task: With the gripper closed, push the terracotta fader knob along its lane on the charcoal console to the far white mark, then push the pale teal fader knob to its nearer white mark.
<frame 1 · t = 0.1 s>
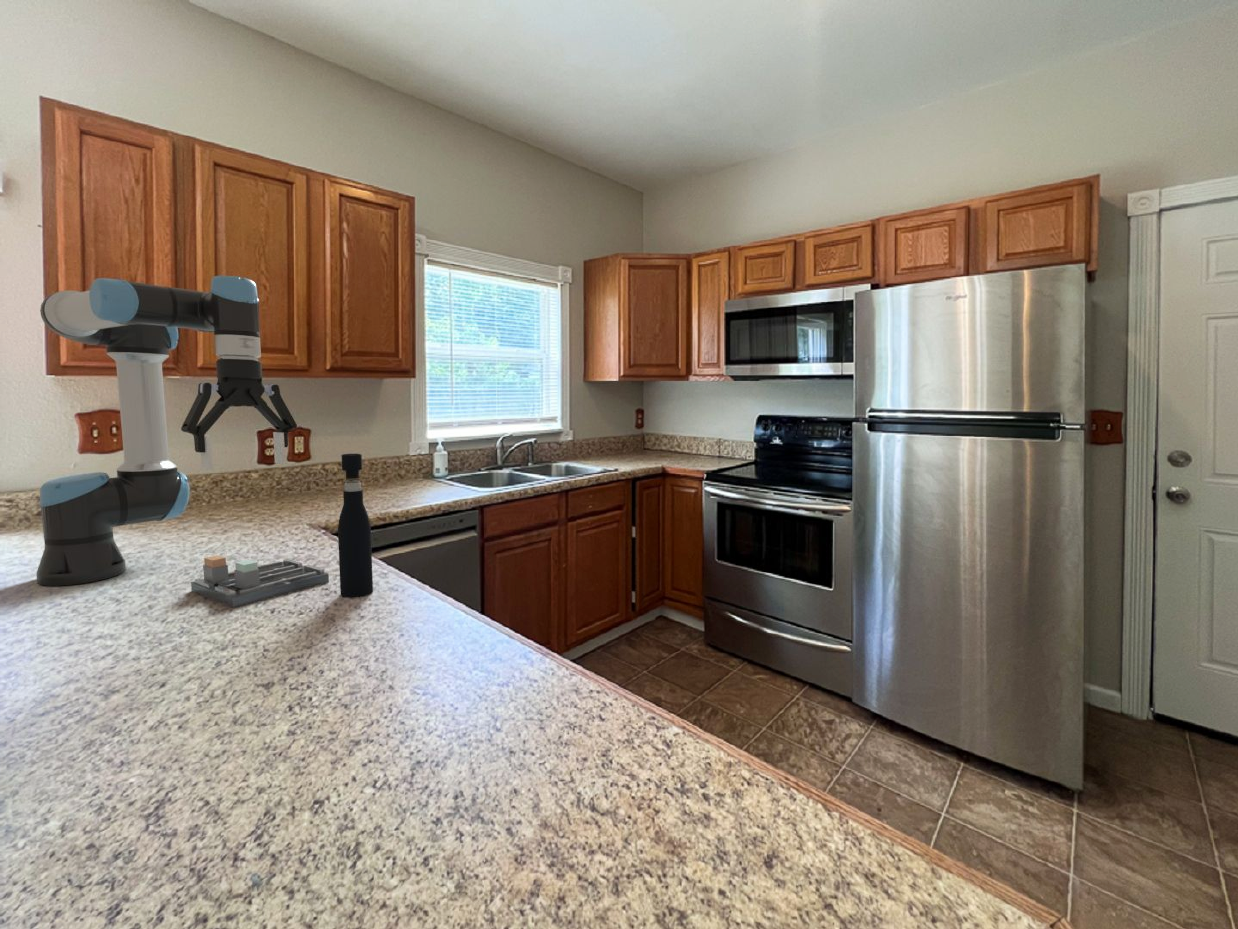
hand: (245, 466, 117), 28 cm above the countertop, fingers open, 13 cm apart
knob b: (247, 574, 122), point 5 cm above the countertop, slide at 2.0 cm
knob a: (215, 569, 125), point 5 cm above the countertop, slide at 0.0 cm
black water bottle: (356, 594, 125), on the countertop
console: (262, 586, 129), on the countertop
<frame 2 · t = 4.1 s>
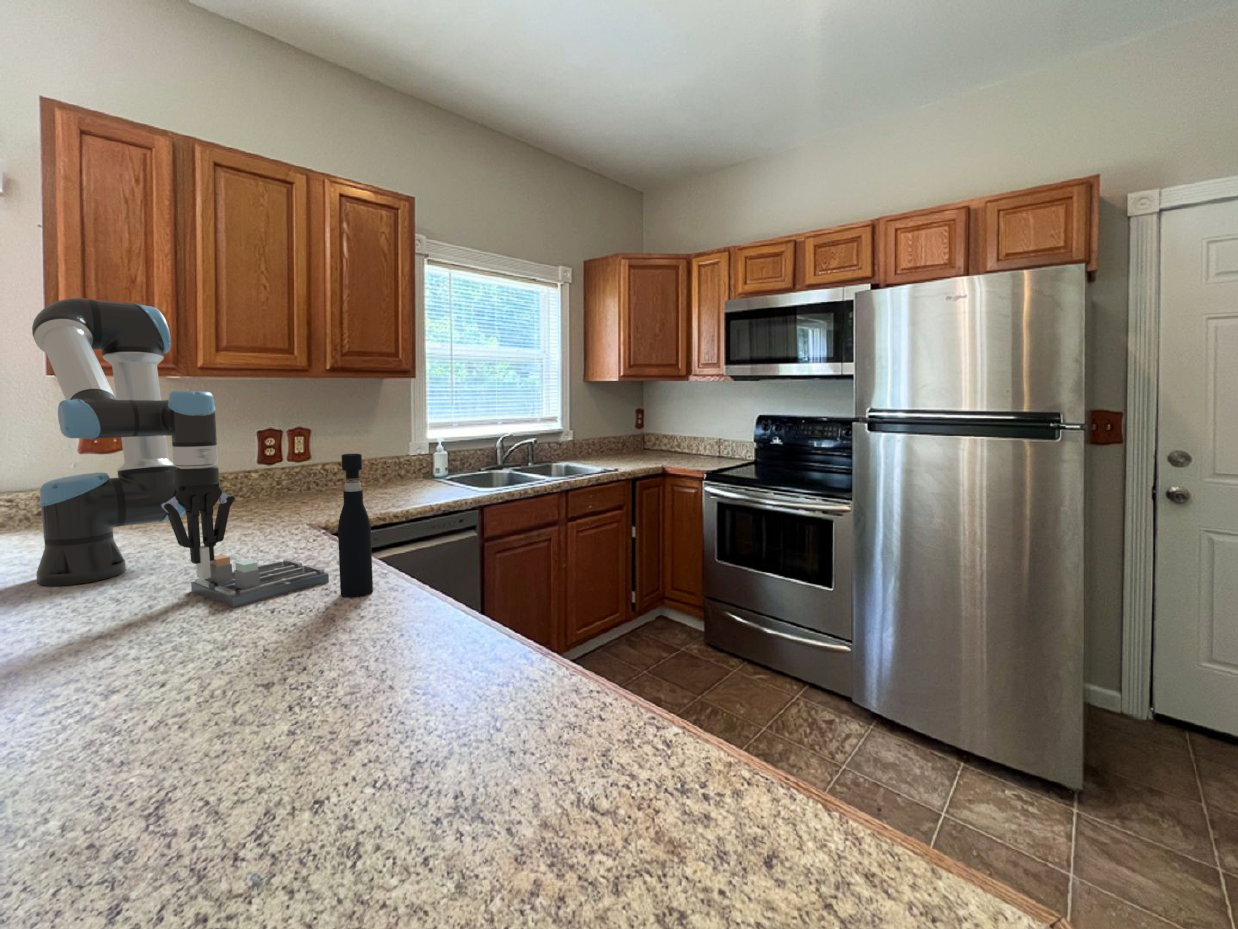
hand: (204, 577, 123), 4 cm above the countertop, fingers closed
knob a: (219, 568, 125), point 5 cm above the countertop, slide at 0.8 cm, touching gripper
everything else where it was.
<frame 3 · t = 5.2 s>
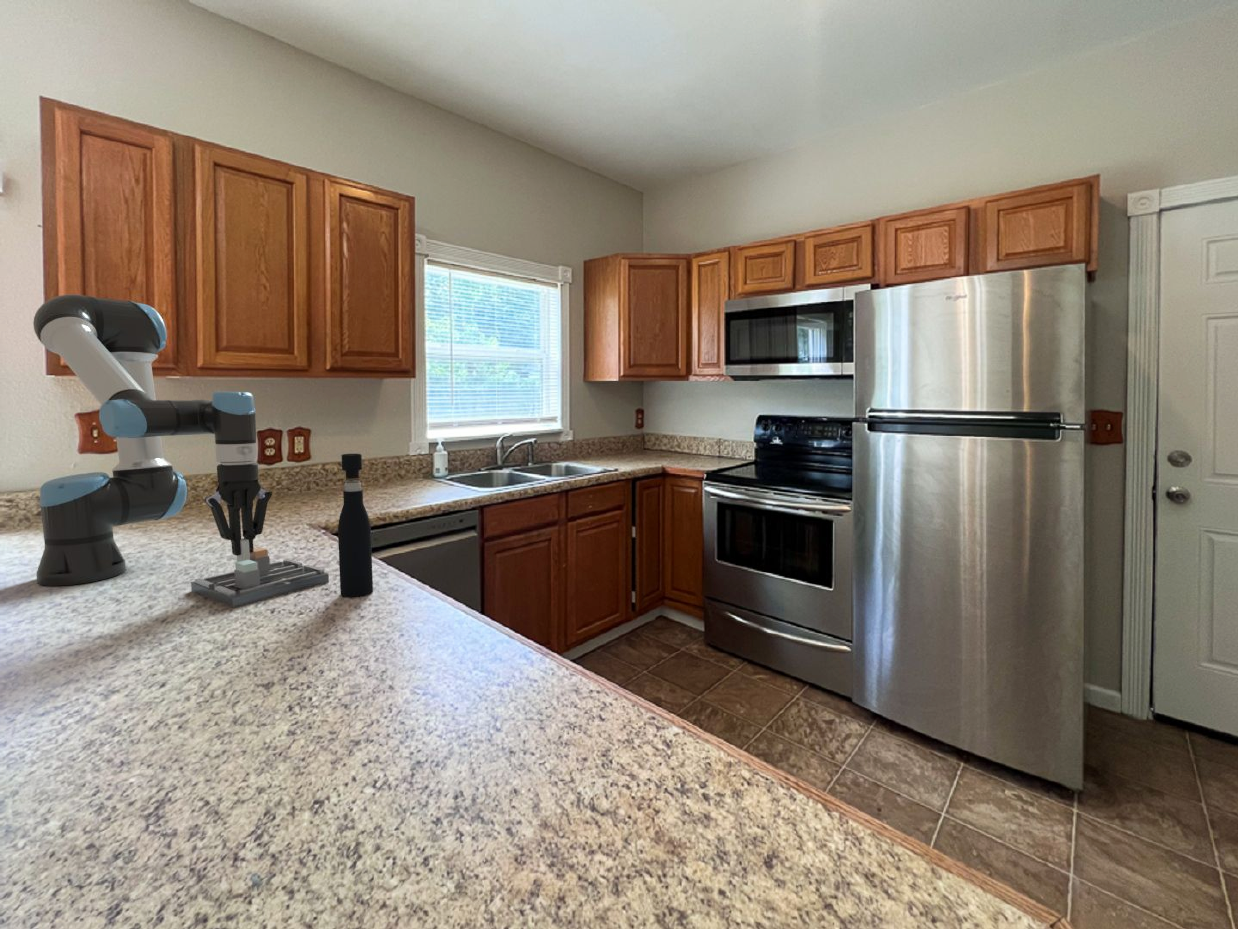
hand: (243, 568, 129), 4 cm above the countertop, fingers closed
knob a: (258, 560, 132), point 5 cm above the countertop, slide at 8.6 cm, touching gripper
everything else where it was.
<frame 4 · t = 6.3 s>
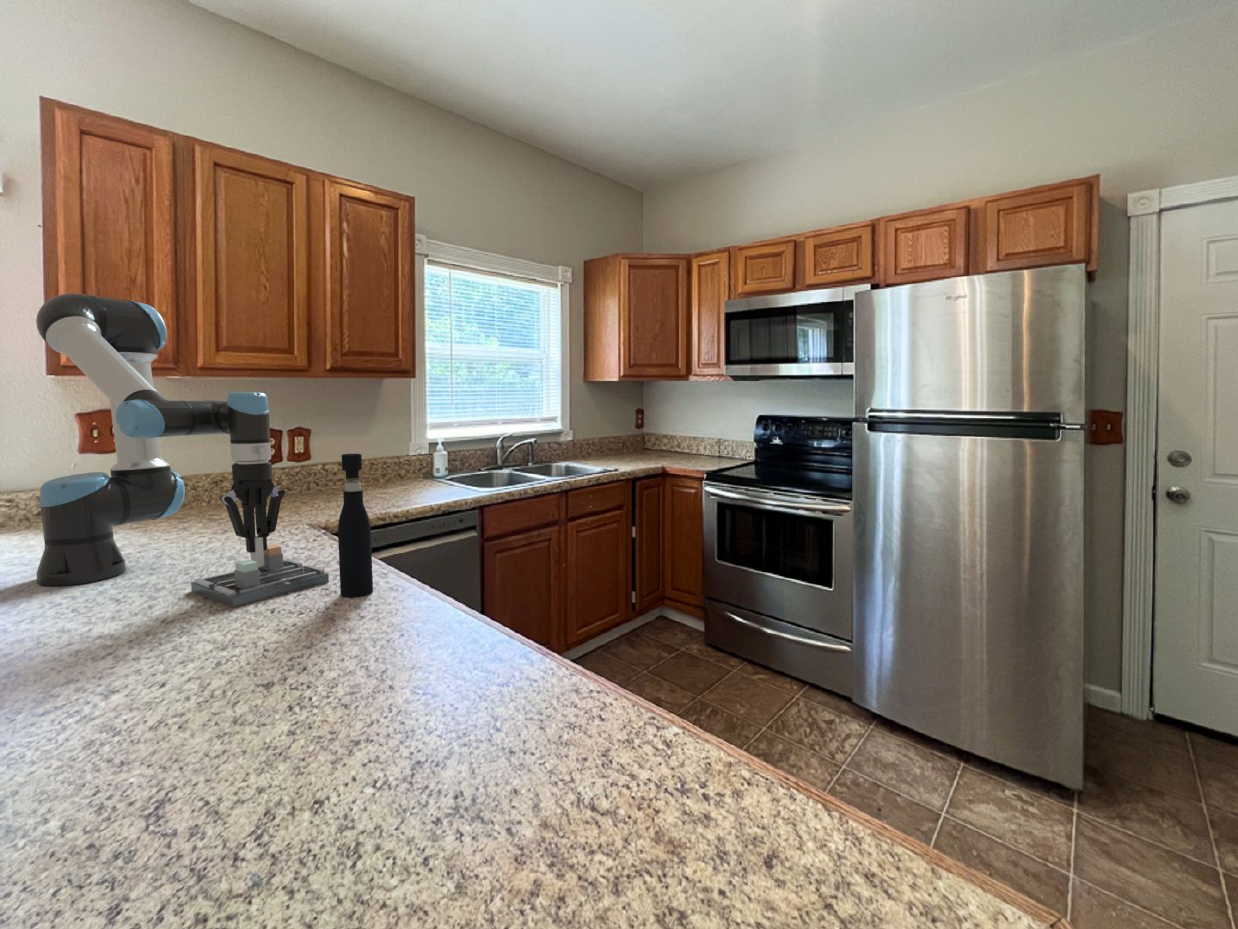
hand: (257, 565, 132), 4 cm above the countertop, fingers closed
knob a: (271, 557, 135), point 5 cm above the countertop, slide at 11.6 cm, touching gripper
everything else where it was.
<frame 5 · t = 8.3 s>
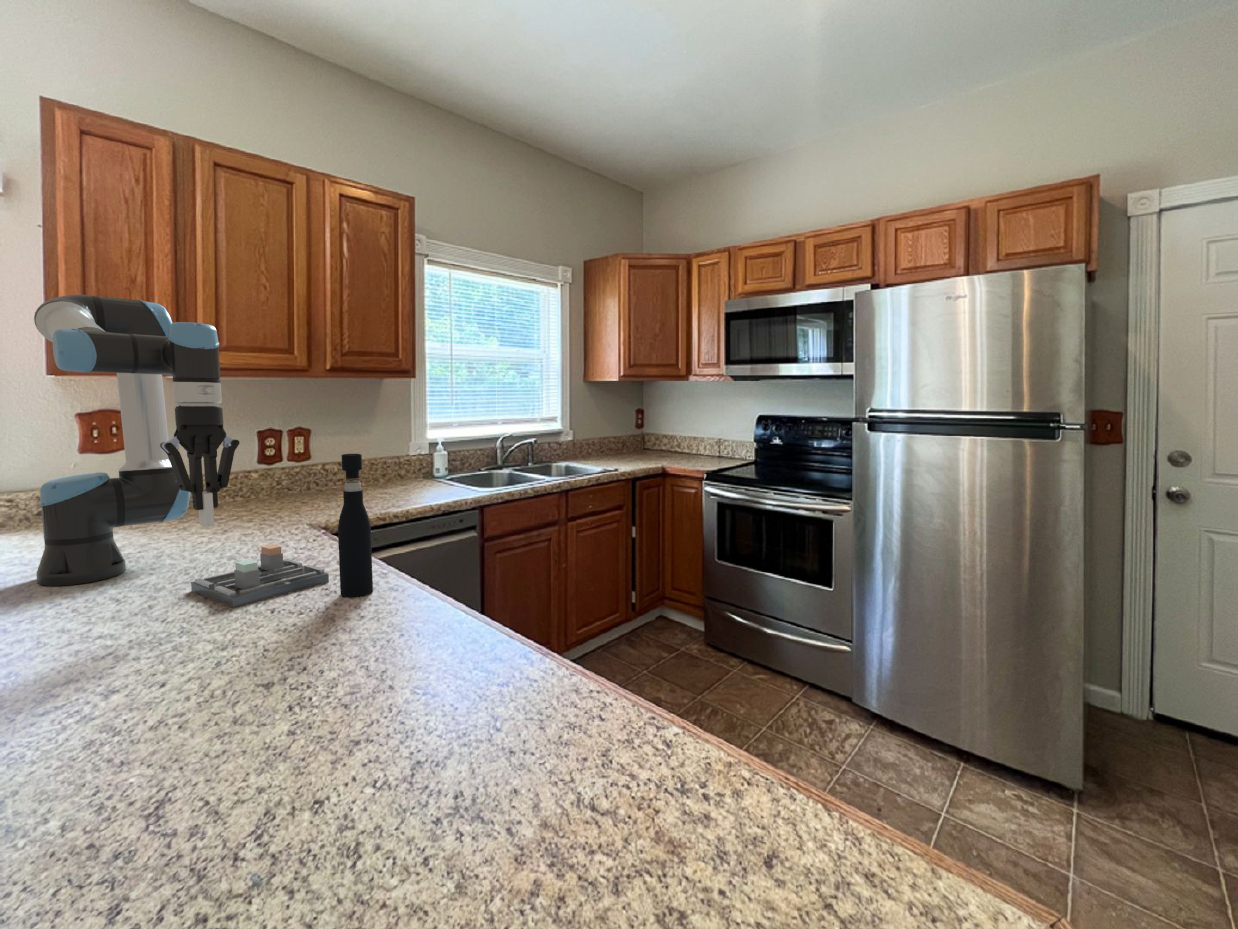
hand: (207, 525, 115), 16 cm above the countertop, fingers closed
knob a: (271, 557, 135), point 5 cm above the countertop, slide at 11.6 cm
everything else where it was.
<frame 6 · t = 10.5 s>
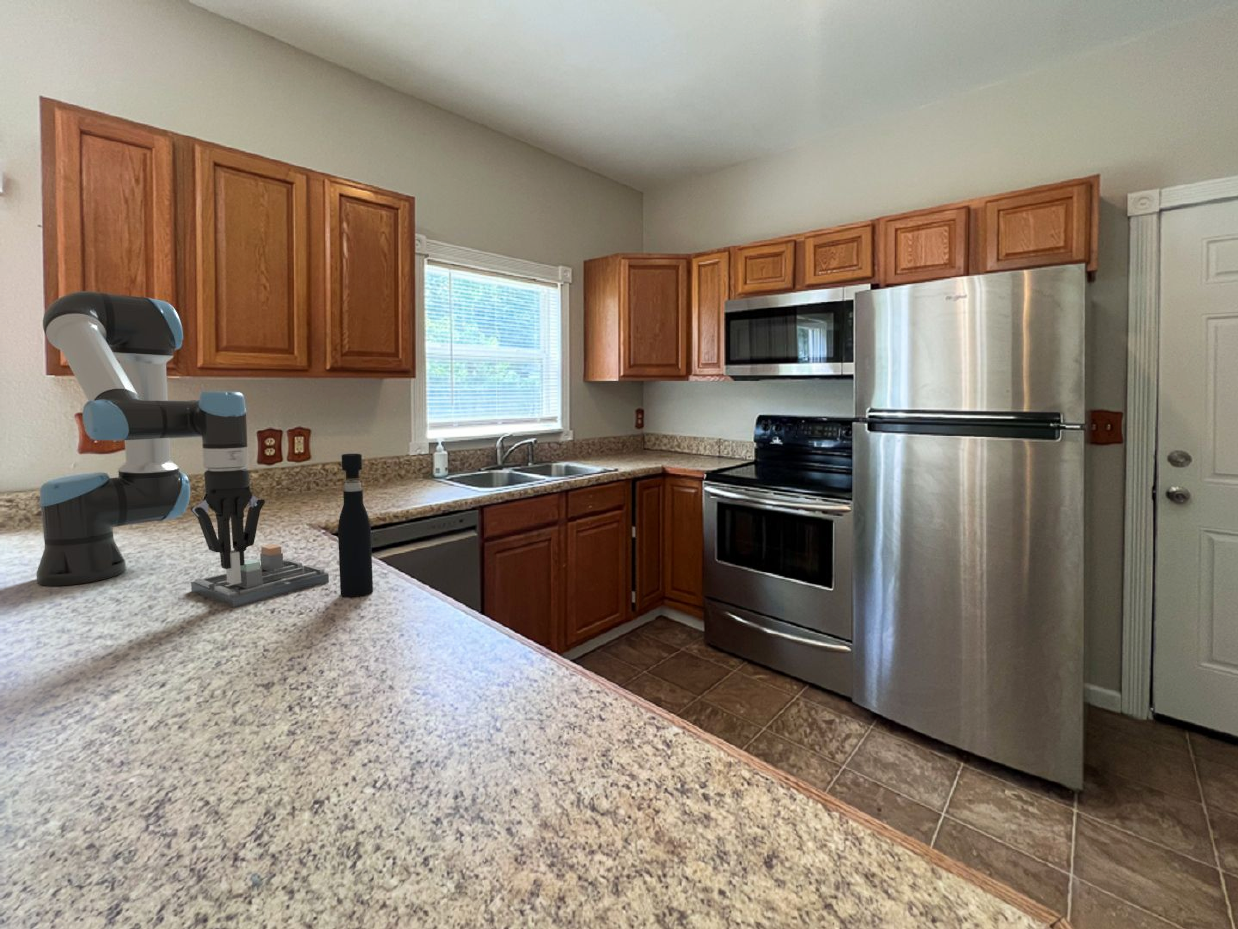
hand: (234, 582, 120), 4 cm above the countertop, fingers closed
knob b: (249, 573, 122), point 5 cm above the countertop, slide at 2.5 cm, touching gripper
everything else where it was.
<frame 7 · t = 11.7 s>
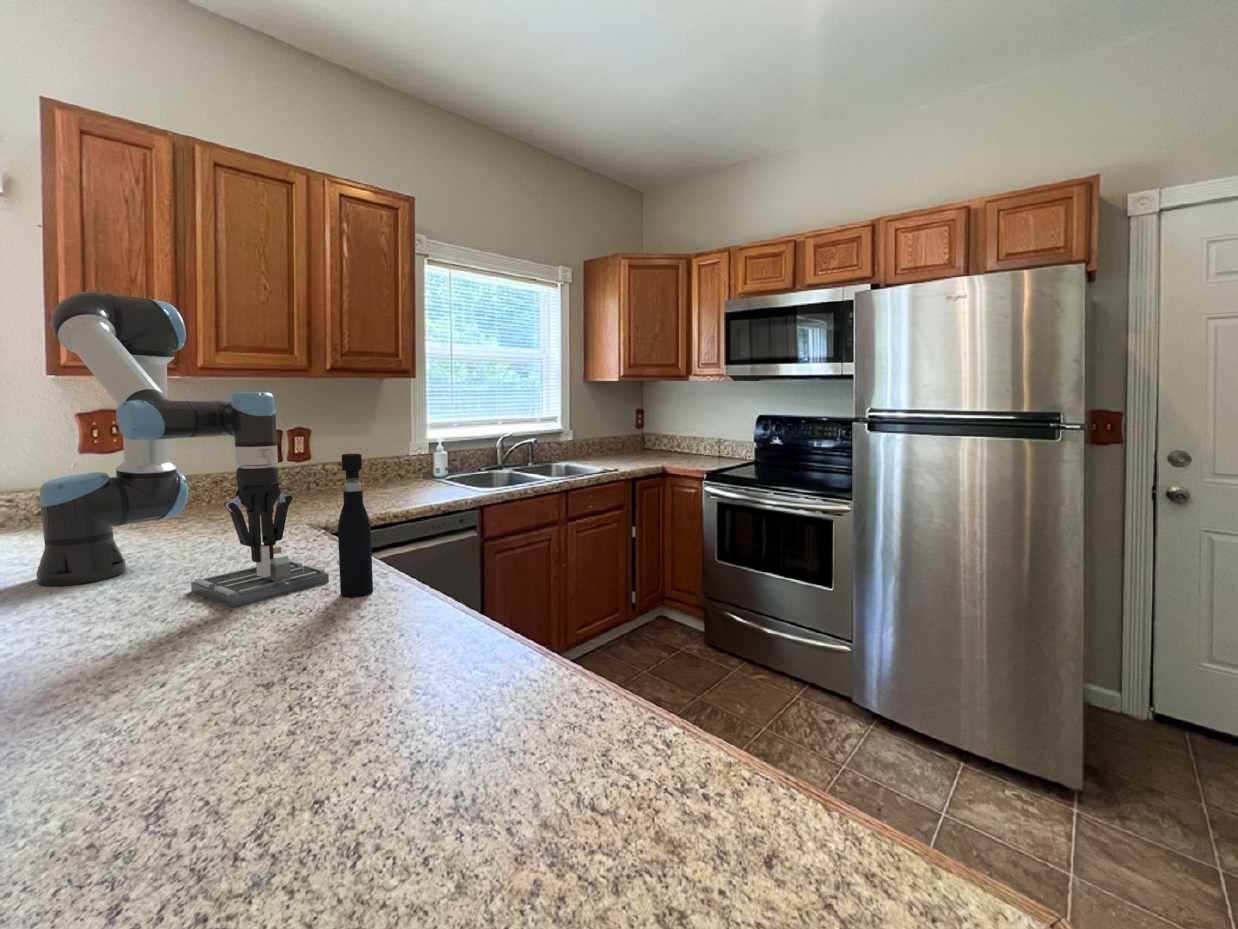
hand: (263, 575, 125), 4 cm above the countertop, fingers closed
knob b: (278, 567, 127), point 5 cm above the countertop, slide at 8.4 cm, touching gripper
everything else where it was.
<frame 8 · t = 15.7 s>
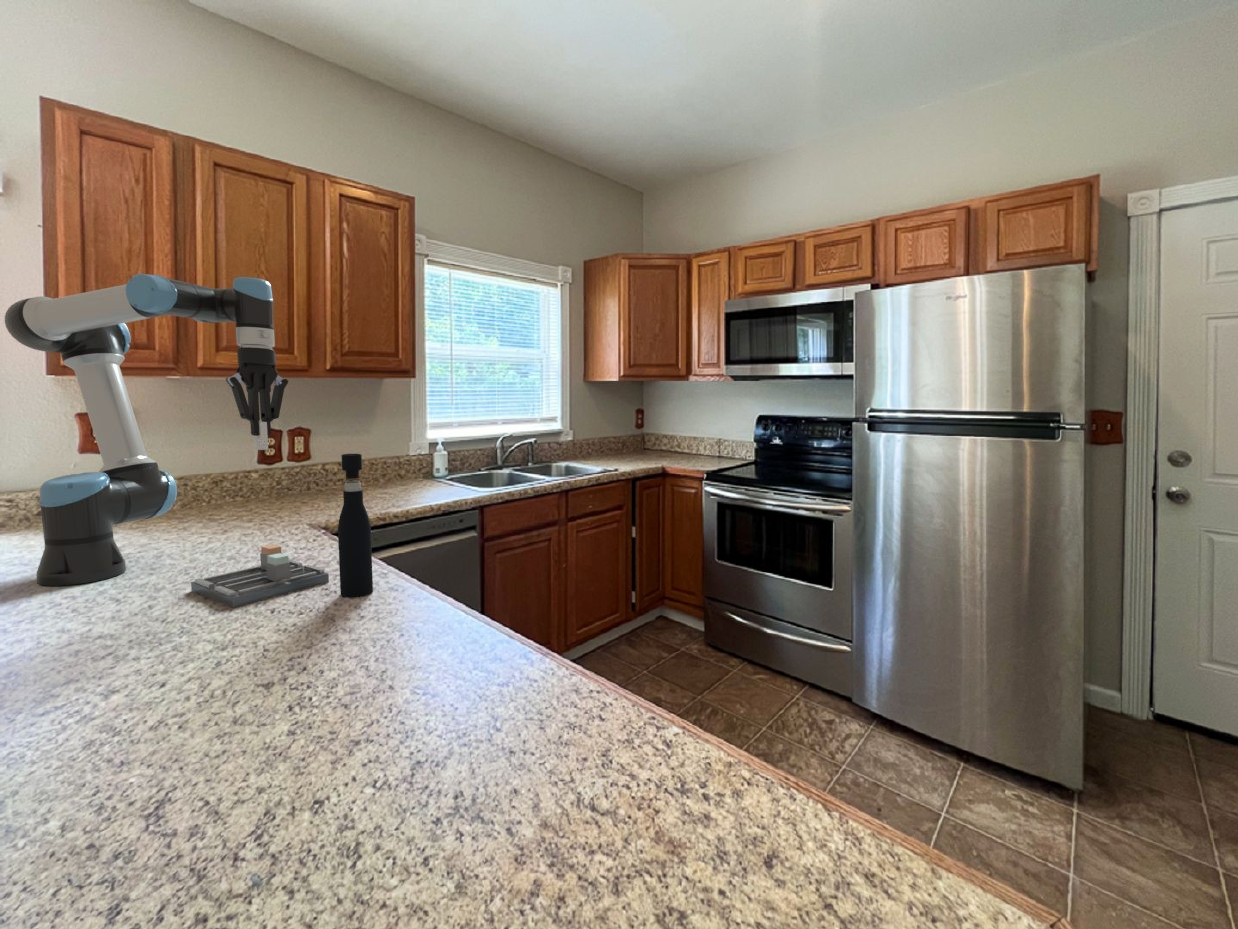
hand: (262, 449, 137), 29 cm above the countertop, fingers closed
knob b: (278, 567, 127), point 5 cm above the countertop, slide at 8.4 cm
everything else where it was.
at the end: knob a slide at 11.6 cm; knob b slide at 8.4 cm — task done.
